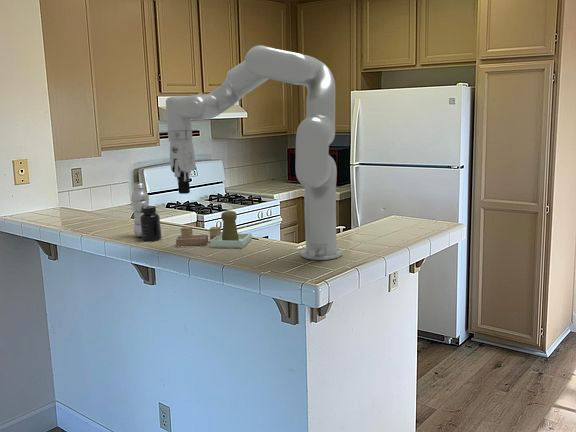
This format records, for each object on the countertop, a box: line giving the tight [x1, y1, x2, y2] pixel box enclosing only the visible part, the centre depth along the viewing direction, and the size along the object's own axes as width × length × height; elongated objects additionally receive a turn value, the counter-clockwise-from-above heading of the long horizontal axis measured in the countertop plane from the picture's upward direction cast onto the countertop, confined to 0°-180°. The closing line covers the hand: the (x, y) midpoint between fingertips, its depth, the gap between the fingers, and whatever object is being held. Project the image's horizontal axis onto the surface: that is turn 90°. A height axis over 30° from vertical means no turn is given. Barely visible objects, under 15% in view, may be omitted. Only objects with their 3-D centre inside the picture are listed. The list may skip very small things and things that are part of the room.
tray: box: [209, 232, 253, 249], centre depth 194 cm, size 11×11×2 cm
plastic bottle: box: [130, 182, 150, 238], centre depth 209 cm, size 6×7×20 cm
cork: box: [220, 210, 239, 241], centre depth 193 cm, size 6×6×11 cm
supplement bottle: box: [140, 205, 162, 242], centre depth 205 cm, size 7×7×12 cm
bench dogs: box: [180, 226, 222, 241], centre depth 199 cm, size 3×14×5 cm, turn 77°
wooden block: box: [175, 234, 209, 247], centre depth 196 cm, size 6×10×3 cm, turn 91°
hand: (184, 193), depth 185 cm, fingers closed
